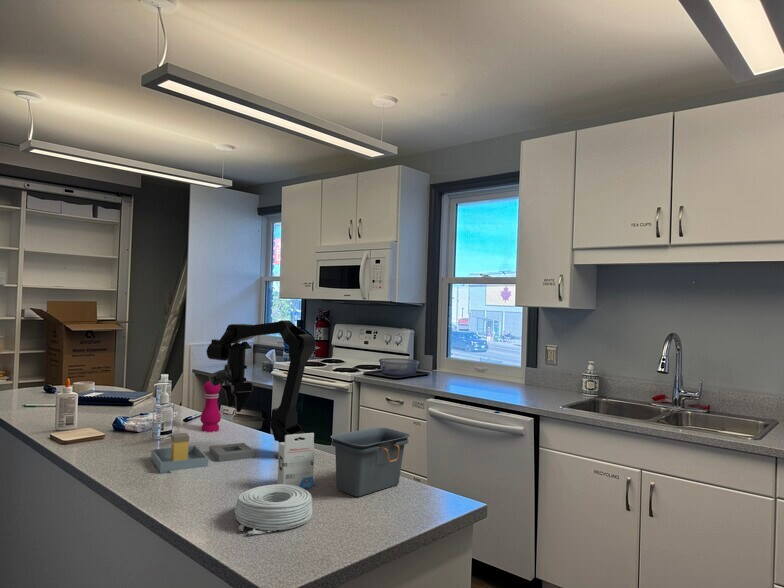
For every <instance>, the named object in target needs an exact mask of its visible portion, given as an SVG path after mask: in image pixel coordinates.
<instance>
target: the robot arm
mask: <svg viewBox="0 0 784 588" xmlns="http://www.w3.org/2000/svg"><path fill="white" fill-rule="evenodd" d="M275 334H279V335H280V336H281V338H282V341H283V342H284V343H285V344H286V345H287V346H288V349H287V350H288V351H287V353H288V358H289V366H288V370H287V374H286V379H285V382H284V383H285V384H284V387H283V392H282V397H281V400H280V404H279V406H278V407H277V408H272V410H271V415H270V419H269V421H268V422H269V423H270V425H269V427H270V428H269V429H271V432H272V434H273V440H274V441H275V442H278V443H279V442H285V436H286V435H292V434H303V433H305V432H304V429H303V428H302V427H301V425H300V424H299V423H298V419H299V418H298V416H299V415H298V411H297V402H298V397H299V393H300V390H301V386H302V381H303V376H304V373H305V367H306V365H307V363H308V361H309V360H310V358H311V357H312V355H313V353H314V350H315V347H316V340H315V338H314V337H313V335H311V334H308V333H307V332H306V331H305V330H303V329H301V328H300V327H298V326H296V325H295V324H294V323H293V322H292V321H290V320H278V321H274V322H266V323H265V322H264V323H258V324H250V323H249V324H248V323H234V324H233V323H231V324H228V325H227V327H226V329H225V331H224V333H223V335H222V336H221V338H220V339H217V338H216V339H211V342H210V344H209V345H208V346H207V349H206V356H207V358H208V359H209V360H215V361H227V362H226V364H225V365H224V367H223V369H221V370H218V371H215V372H213V373H210V374H208V381H210V383H211V385H213V386H216V385H219V384H220V387H221V388H222V390H224V393H225V394H224V395H225V399H226V402H227V406H228V408H231V407H233V404H234V402H235V411H236V412H237V413H240V412H241V411H242V409H243V407H244V406H245V404H246V401H247V399H248V398H249V396H250V394H251V393H252V392H253V391H254V384H253V383H252V382H251V381H249V380H247V377H245V375H246V373H245V372H246V370H247V369H248V365H246V356H247V355H246V351H247V350H249V349H252V345H250V344H249V343H248V340H251V339H253V338H255V337H258V336H267V335H268V336H269V335H275ZM240 342H241V343H240ZM299 438H301V437H299ZM299 438H295V439H294V440H295V441H299ZM274 457H275V458H277V460H279V454H275V455H274Z"/></svg>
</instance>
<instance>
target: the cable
mask: <svg viewBox="0 0 784 588" xmlns="http://www.w3.org/2000/svg"><path fill="white" fill-rule="evenodd" d="M312 500H313V498H312V494H311V493H310V492H309V491H308V490H306V489H305V488H301V487H298V486H293V485H286V484H278V483H277V484H276V483H275V484H268V485H261V486H257V487H256V486H255V487H253V488H250V489H249V490H246V491H243V492H242V493H240V494H239V496H238V498H237V501H236V504H235V507H234V509H233V510H234V515H235V518H236V520H237V521H238V522H239V524H240V525H239V526H238V532H240V531H242V530H244V531H245V527H247V528H251V529H252V530H249V531H247V532H246V536H255V535H254V534H259V535H261V534H260V533H263V532H268V531H274V530H279V531H284V530H291V529H294V528H297V527H300V526H302V525H304V524H306V523H307V522H309V521H310V519H311V517H312V514H313V504H312V503H313V501H312ZM248 534H250V535H248ZM251 534H253V535H251Z"/></svg>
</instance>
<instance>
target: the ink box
mask: <svg viewBox="0 0 784 588" xmlns="http://www.w3.org/2000/svg"><path fill="white" fill-rule="evenodd" d="M299 437H300V438H301V440H299ZM295 438H297V439H298V441H295V440H294V439H295ZM314 443H315V433H314V432H306V433H305V432H304V433H303V434H292V435H286V436H285V442H278V455H279V459H278V463H277V464H278V466H277V484H286V485H293V486H298V487H301V488H303V489H308V488H309V487H310V488H313V487H314V485H313V484H314V462H315V461H314V460H315V444H314ZM310 488H309V489H310Z"/></svg>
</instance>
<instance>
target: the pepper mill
mask: <svg viewBox="0 0 784 588" xmlns="http://www.w3.org/2000/svg"><path fill="white" fill-rule="evenodd" d="M221 388H222V387H220V384H219V385H216V386H213V385H211V383H210V380H208V381H206V382H205V383H204V385H203V391H204V398H205V404H204V407H203V410H202V412H201V414H200V422H201V423H202V425H200V426H201V428H200V431H201V432H204V431H207V432H206V433H214V432H213V431H215V432H218V431H219V430H220V425H219V423H220V422H221V418H222V416H221V412H220V409H219V405H218V398H219V396H220V394H219V392H220V391H221ZM217 430H218V431H217Z"/></svg>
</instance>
